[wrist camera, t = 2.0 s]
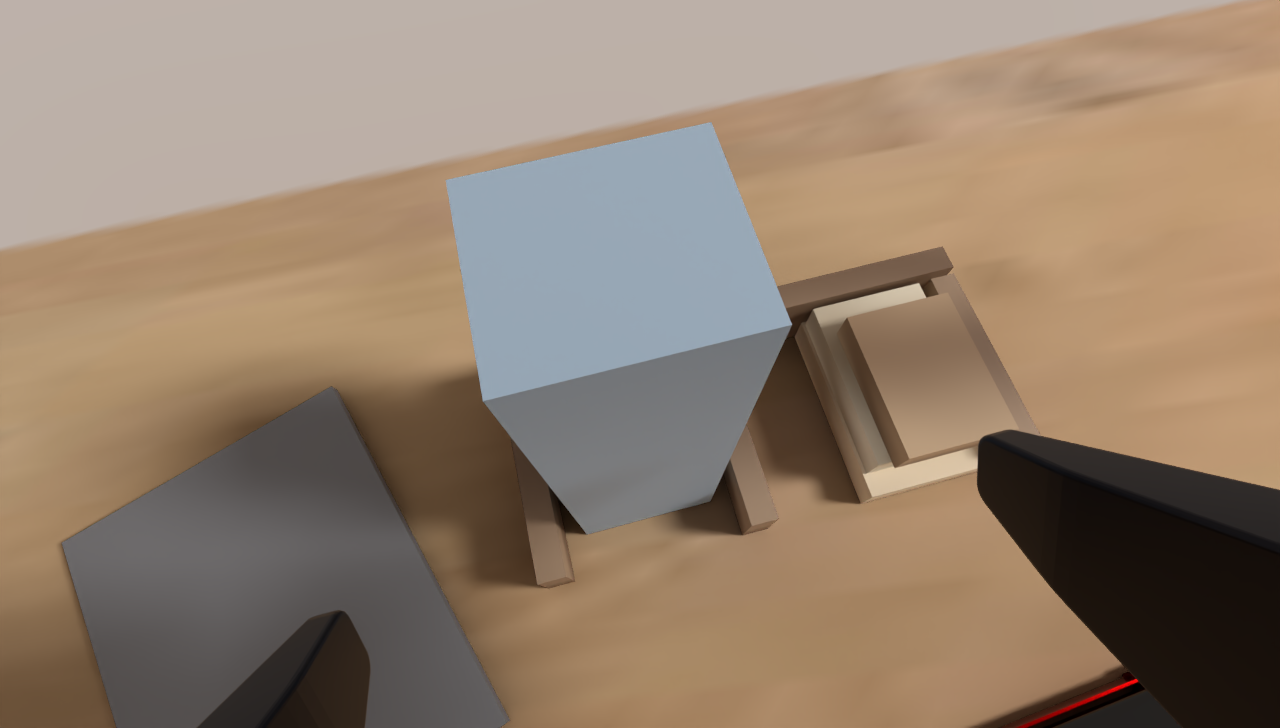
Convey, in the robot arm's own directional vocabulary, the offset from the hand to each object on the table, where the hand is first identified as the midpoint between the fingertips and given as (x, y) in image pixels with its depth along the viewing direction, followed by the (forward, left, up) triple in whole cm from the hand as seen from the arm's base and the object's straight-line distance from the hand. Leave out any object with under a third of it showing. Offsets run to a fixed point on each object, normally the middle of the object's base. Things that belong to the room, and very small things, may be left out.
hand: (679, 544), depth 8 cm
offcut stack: (+8, -5, -11) cm, 14 cm away
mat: (-5, +11, -11) cm, 16 cm away
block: (+3, +2, -11) cm, 11 cm away
